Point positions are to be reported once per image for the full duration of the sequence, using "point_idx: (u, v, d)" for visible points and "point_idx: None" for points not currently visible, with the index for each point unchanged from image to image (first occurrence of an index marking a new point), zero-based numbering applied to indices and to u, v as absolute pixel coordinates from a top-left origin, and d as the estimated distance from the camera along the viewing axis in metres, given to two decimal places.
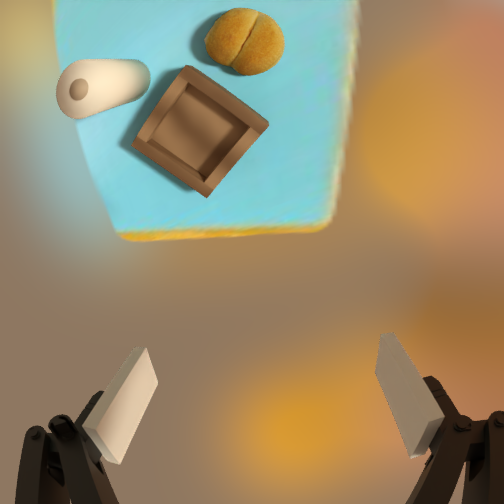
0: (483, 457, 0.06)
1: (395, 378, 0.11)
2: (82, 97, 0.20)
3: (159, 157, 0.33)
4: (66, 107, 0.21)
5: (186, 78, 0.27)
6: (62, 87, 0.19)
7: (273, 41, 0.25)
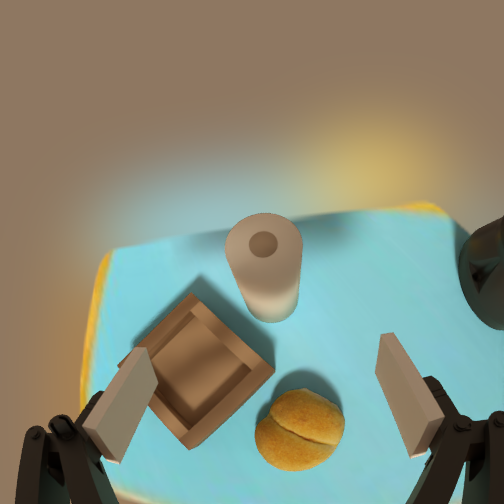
0: (483, 457, 0.06)
1: (395, 378, 0.11)
2: (251, 248, 0.22)
3: (169, 323, 0.29)
4: (246, 225, 0.23)
5: (256, 368, 0.26)
6: (273, 222, 0.23)
7: (295, 463, 0.21)
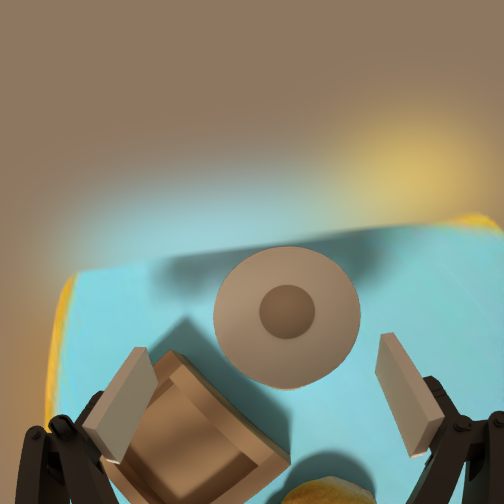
0: (483, 457, 0.06)
1: (395, 378, 0.11)
2: (263, 319, 0.11)
3: None
4: (254, 269, 0.12)
5: (264, 464, 0.15)
6: (305, 265, 0.12)
7: None
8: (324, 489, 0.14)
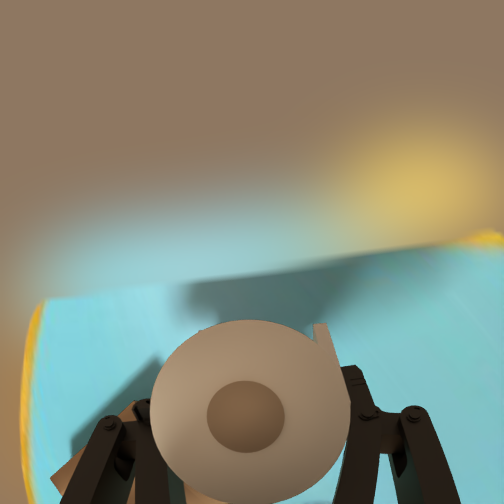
0: None
1: None
2: (212, 426, 0.07)
3: None
4: (202, 353, 0.08)
5: None
6: (274, 350, 0.08)
7: None
8: None
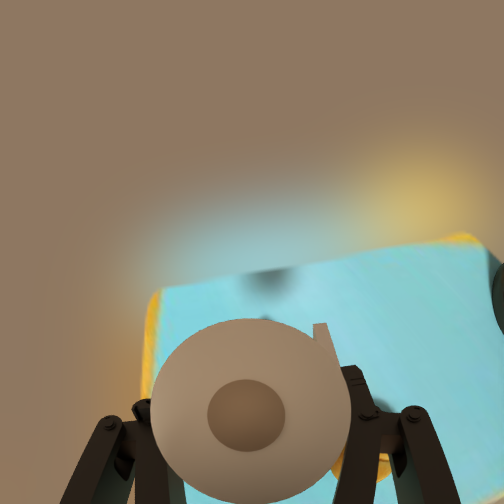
0: None
1: None
2: (213, 425, 0.07)
3: None
4: (202, 352, 0.08)
5: None
6: (274, 349, 0.08)
7: None
8: None
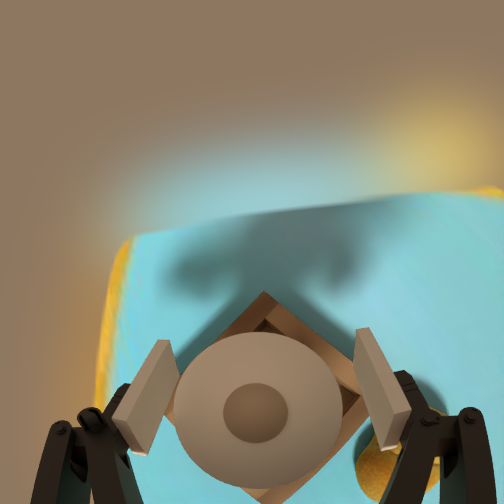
0: (457, 453, 0.07)
1: (368, 371, 0.12)
2: (228, 421, 0.09)
3: None
4: (218, 360, 0.10)
5: None
6: (279, 357, 0.10)
7: None
8: None
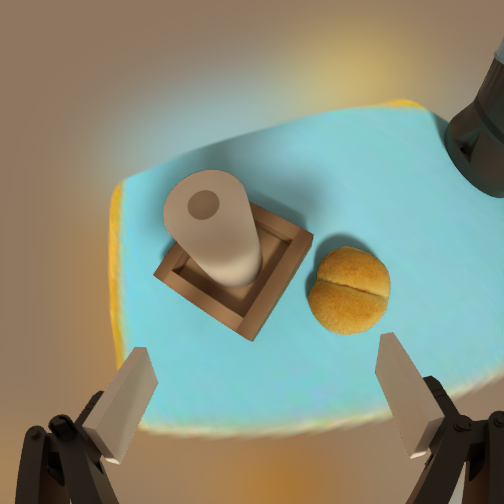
0: (483, 457, 0.06)
1: (395, 378, 0.11)
2: (190, 211, 0.19)
3: None
4: (183, 187, 0.20)
5: (296, 237, 0.28)
6: (212, 179, 0.20)
7: (358, 318, 0.25)
8: (342, 250, 0.28)
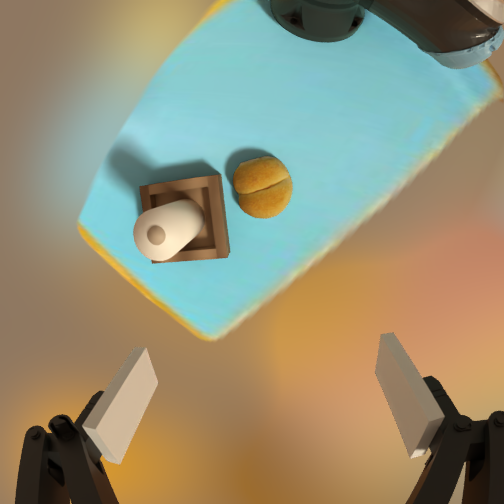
0: (483, 457, 0.06)
1: (395, 378, 0.11)
2: (153, 243, 0.31)
3: None
4: (138, 232, 0.31)
5: (209, 183, 0.39)
6: (148, 218, 0.31)
7: (276, 205, 0.40)
8: (240, 169, 0.39)
